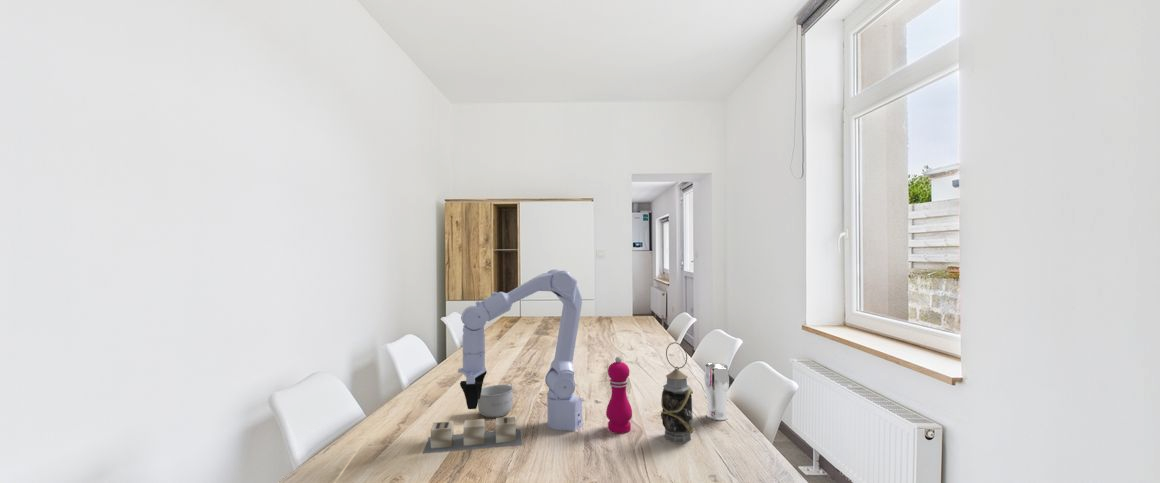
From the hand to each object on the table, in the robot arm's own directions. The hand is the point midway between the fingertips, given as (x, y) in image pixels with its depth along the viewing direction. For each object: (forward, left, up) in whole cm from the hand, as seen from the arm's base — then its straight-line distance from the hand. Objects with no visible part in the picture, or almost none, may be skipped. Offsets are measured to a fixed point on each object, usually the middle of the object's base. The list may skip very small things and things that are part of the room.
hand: (474, 403), depth 119 cm
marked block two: (+6, +6, -9) cm, 12 cm away
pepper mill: (-34, -19, -10) cm, 40 cm away
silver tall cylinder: (-59, -37, -10) cm, 71 cm away
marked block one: (-8, -2, -9) cm, 12 cm away
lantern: (-50, -18, -10) cm, 54 cm away
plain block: (-1, +2, -9) cm, 9 cm away
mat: (-1, +2, -10) cm, 10 cm away
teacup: (+4, -19, -10) cm, 22 cm away
